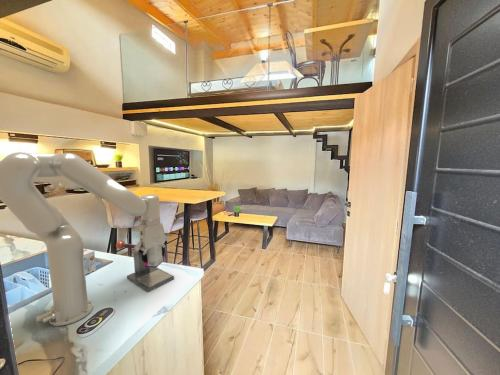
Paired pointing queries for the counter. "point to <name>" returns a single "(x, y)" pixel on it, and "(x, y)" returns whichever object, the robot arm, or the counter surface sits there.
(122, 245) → the press lever
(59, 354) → the counter surface
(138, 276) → the press bed
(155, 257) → the supplement box
